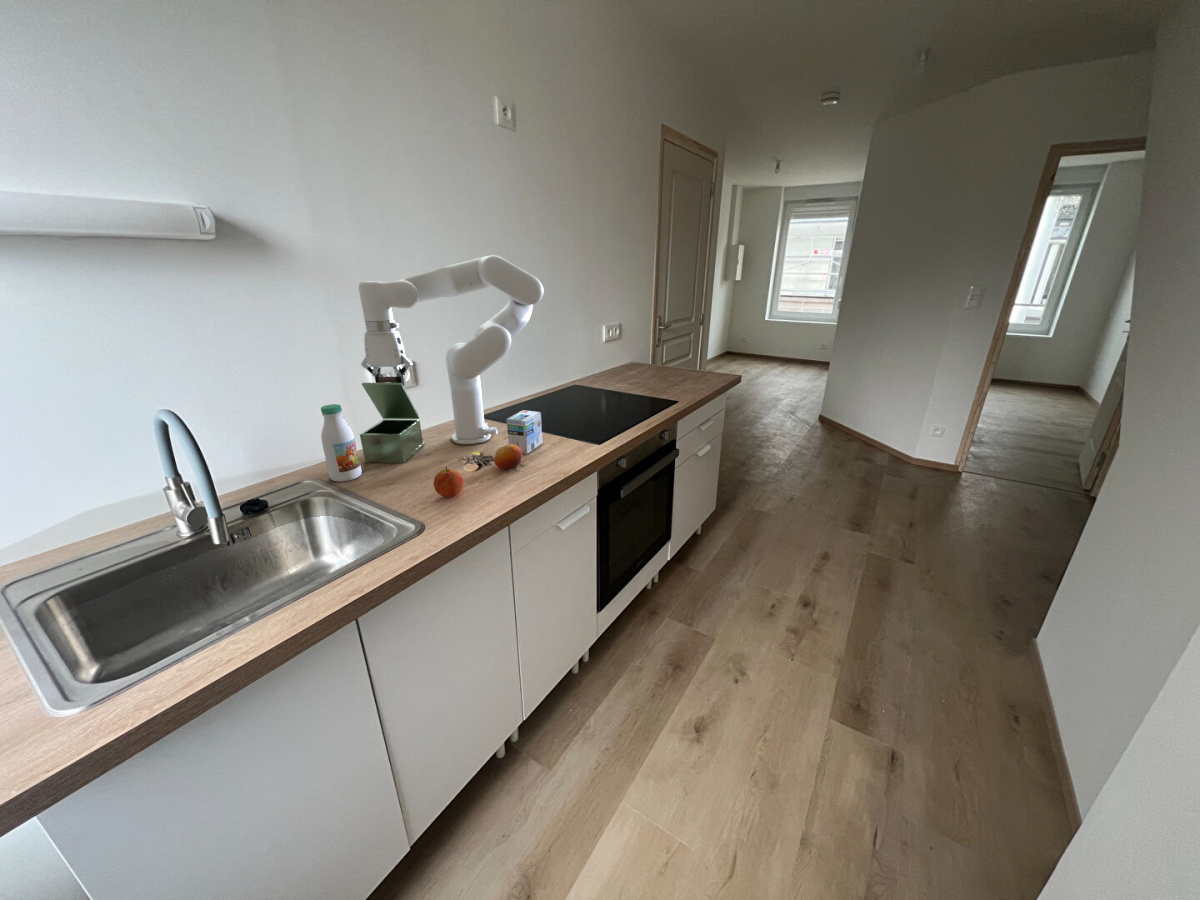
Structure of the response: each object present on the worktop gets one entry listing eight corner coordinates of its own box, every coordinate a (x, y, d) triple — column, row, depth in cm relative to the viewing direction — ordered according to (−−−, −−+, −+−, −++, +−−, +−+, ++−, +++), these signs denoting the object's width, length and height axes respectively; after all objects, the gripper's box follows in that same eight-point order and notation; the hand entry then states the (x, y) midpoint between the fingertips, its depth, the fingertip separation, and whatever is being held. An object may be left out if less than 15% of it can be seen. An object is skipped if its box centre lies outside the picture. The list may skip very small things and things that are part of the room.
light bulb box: (527, 454, 138) (525, 421, 135) (508, 451, 141) (505, 418, 137) (543, 443, 148) (541, 411, 144) (525, 440, 150) (522, 409, 146)
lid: (401, 384, 130) (405, 372, 133) (361, 384, 131) (367, 372, 134) (419, 419, 143) (423, 407, 146) (382, 418, 143) (387, 407, 146)
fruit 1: (438, 490, 116) (434, 461, 113) (466, 488, 117) (463, 460, 114) (433, 503, 109) (428, 473, 106) (462, 501, 110) (458, 471, 107)
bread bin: (404, 462, 133) (399, 434, 130) (365, 462, 133) (359, 434, 130) (423, 445, 146) (419, 419, 143) (388, 445, 147) (383, 419, 143)
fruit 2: (523, 469, 124) (507, 445, 122) (501, 481, 127) (485, 457, 125) (533, 458, 131) (518, 435, 130) (512, 469, 134) (497, 447, 132)
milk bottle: (329, 484, 119) (311, 411, 112) (332, 473, 126) (315, 404, 119) (361, 479, 122) (346, 408, 115) (363, 468, 129) (348, 400, 121)
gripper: (414, 325, 133) (423, 386, 140) (357, 325, 133) (369, 385, 140) (404, 328, 126) (414, 391, 133) (343, 328, 126) (356, 391, 133)
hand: (391, 388), depth 136 cm, fingers closed on lid, 5 cm apart
